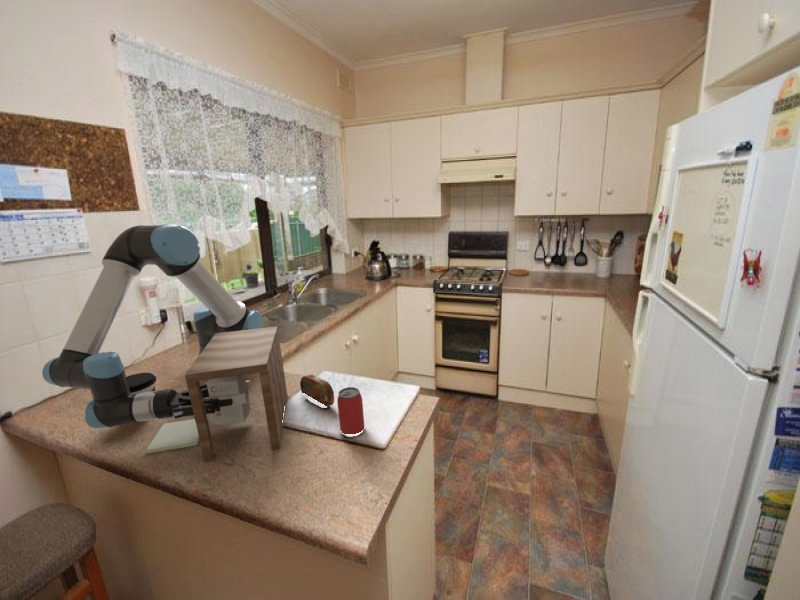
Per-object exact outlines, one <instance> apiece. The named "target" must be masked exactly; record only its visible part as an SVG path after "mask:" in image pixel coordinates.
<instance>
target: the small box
mask: <svg viewBox="0 0 800 600" xmlns="http://www.w3.org/2000/svg"><path fill="white" fill-rule="evenodd" d="M246 381H247V380H246V376H245V375H238V376H231V377H224V378H217V379H209V380H207V382H205V383H206V384H207V388H208V393H209V397H208V399H218V400H219V397H222V396H229V395H235V394H242V393H245V394H246V400H247V403H245V404H238V405H232V406H225V407H220V411H219V412H217V411H216V410H215V411H216V412H215V413H212V415H213V420H214V424H215V426H220V425H221V426H222V425H228V424H238V423H245V422H246V420H247V419H248V417H249V414H250V412H251V410H252V408H251V403H250V397H249V392H248V391H249V390H247V386H246Z"/></svg>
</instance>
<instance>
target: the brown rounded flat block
mask: <svg viewBox="0 0 800 600" xmlns="http://www.w3.org/2000/svg"><path fill="white" fill-rule="evenodd" d="M300 378H301V379H300V381H299V383H300V384H299V385H300V392H301V394H302V393H305V394H307V395H308V396H310V397H312V398H313V399H315V400H317V401H318V402H320V403H322V404H324V405H325V406H327V408H329V407H328V406H330V405H331V406H333V405H334V402H335V395H334V389H333V387H332V386H331V384H330V383H329V381H326V380H324V379H322V378H321V377H318V376H316V375H314V374H308V375H305V376H302V377H300ZM331 406H330V407H331Z"/></svg>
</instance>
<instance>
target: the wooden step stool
mask: <svg viewBox="0 0 800 600" xmlns="http://www.w3.org/2000/svg"><path fill="white" fill-rule="evenodd" d="M198 355H199V354H198ZM283 363H284V362H283V357H282V349H281V343H280V336H279V329H278V326H269V327H262V328H259V329H250V330H241V331H233V332H224V333H215V335H214V336H213V337H212V339H211V340H210V341H209V343H208V344H207V346H206V347H205V348H204V350H203V351H202V352H201V354H200V355H199V356H197V357H196V359H195V360H194V361H193V363H192V365H191V366H190V367H189V369H188V370H186V372H185V374H184V377H185V381H186V386H187V390H188V391H189V395H190V400H191V404H192V408H193V413H194V415H193V417H194V419H195V422H196V426H197V430H198V435H199V439H200V440H199V443H200V448H201V452H202V456H203V460H204V463H208V462H213V461H214V460H215V458H216V453H215V452H216V451H215V447H214V442H213V439H212V434H211V430H210V429H211V428H210V425H209V421H208V419H207V417H208V416H207V415H208V414H206V410H205V405H204V401H203V399H204V398H203V396H202V391H201V387H200V384H201V383H200V382H201V381H202V382H203V381H209V380H210V379H217V378H224V377H231V376H238V375H244V376H245V375H251V374H258V375H259V381H260V387H261V393H262V399H263V400H262V401H263V405H264V410H265V418H266V424H267V430H268V435H269V441H270V447H271V451H275V450H280V449H281V444H282V437H283V428H284V423H282V420H283V413H284V406H285V404H286V405H287V398H288V391H287V390H288V389H287V384H286V383H287V382H286V377H285V370H284V364H283Z"/></svg>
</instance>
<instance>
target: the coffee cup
mask: <svg viewBox="0 0 800 600" xmlns="http://www.w3.org/2000/svg"><path fill="white" fill-rule="evenodd" d="M126 380H127V384H128V387H129V391H130V394H137V393H143V392H150V391H156V384H155V383H156V382H157V376H156V375H154V373H152V372H140V373H135V374H130V375H128V376H126Z"/></svg>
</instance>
